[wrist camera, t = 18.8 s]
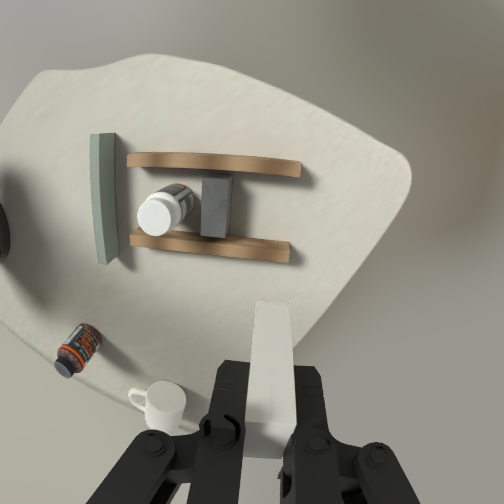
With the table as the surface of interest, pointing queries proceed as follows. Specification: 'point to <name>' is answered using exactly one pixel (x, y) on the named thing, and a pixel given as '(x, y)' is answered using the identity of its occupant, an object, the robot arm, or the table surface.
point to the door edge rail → (104, 196)
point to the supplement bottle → (77, 350)
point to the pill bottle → (165, 209)
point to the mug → (161, 405)
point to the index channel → (209, 244)
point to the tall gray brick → (216, 205)
